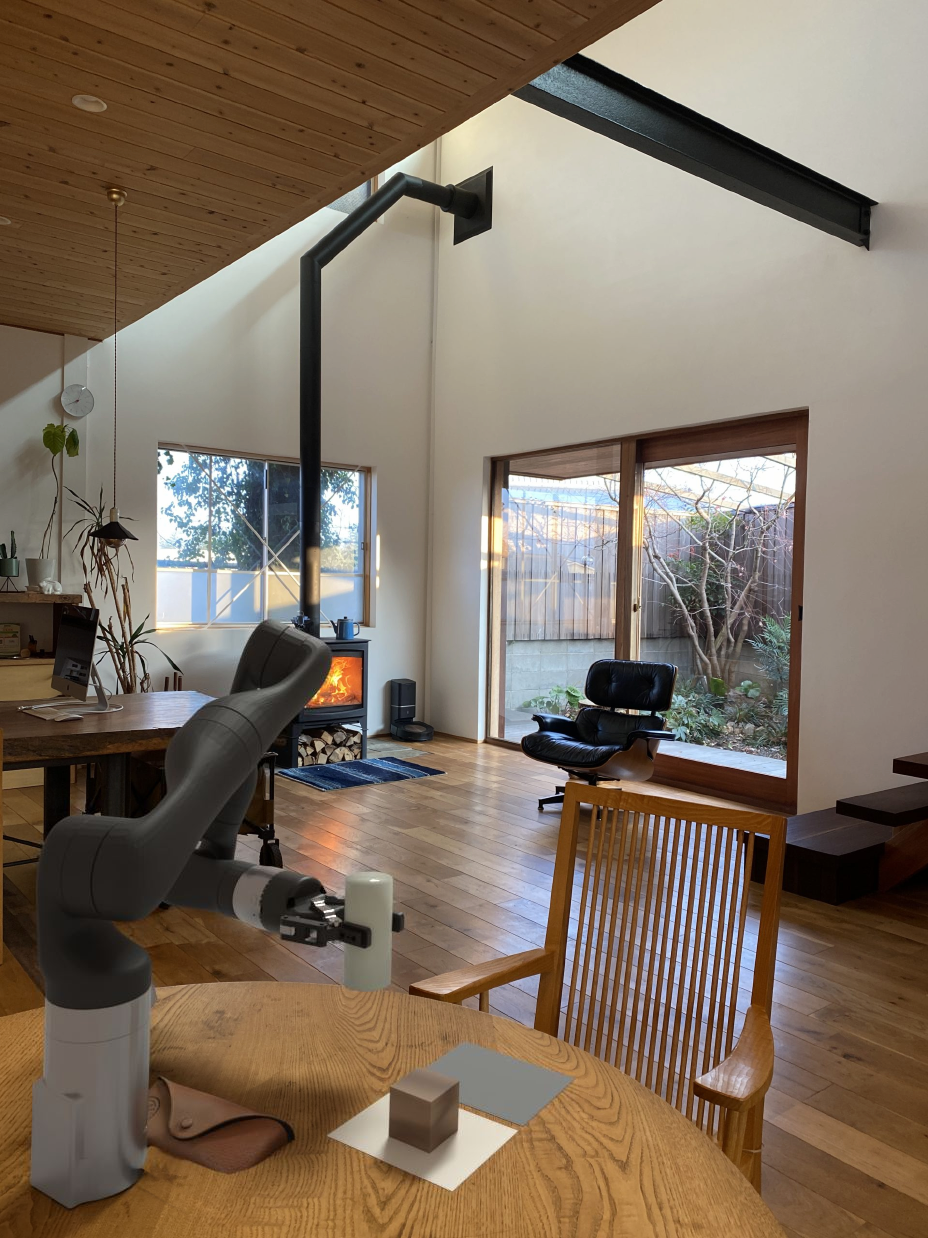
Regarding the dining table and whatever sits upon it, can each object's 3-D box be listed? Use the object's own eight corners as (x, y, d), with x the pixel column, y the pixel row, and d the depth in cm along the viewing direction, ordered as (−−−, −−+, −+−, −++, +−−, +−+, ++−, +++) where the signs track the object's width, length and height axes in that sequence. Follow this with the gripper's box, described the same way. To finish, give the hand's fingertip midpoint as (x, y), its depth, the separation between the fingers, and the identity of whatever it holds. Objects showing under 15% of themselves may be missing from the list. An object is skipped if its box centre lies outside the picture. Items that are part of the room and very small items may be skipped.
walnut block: (429, 1154, 89) (431, 1102, 89) (388, 1136, 92) (389, 1086, 92) (458, 1130, 93) (459, 1081, 93) (417, 1114, 96) (419, 1066, 96)
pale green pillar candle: (370, 996, 103) (372, 889, 103) (333, 983, 106) (335, 880, 106) (400, 979, 108) (402, 877, 108) (363, 968, 111) (365, 869, 111)
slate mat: (522, 1136, 95) (523, 1126, 95) (405, 1090, 103) (405, 1082, 103) (574, 1087, 105) (575, 1078, 105) (464, 1049, 113) (464, 1041, 113)
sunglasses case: (96, 1140, 91) (124, 1067, 94) (141, 1145, 97) (166, 1076, 100) (240, 1196, 84) (266, 1115, 87) (280, 1198, 89) (303, 1122, 92)
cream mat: (451, 1202, 84) (452, 1191, 84) (326, 1145, 92) (326, 1135, 92) (517, 1141, 94) (518, 1131, 94) (399, 1094, 102) (399, 1085, 102)
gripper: (317, 914, 121) (422, 944, 112) (234, 948, 109) (344, 985, 100) (319, 857, 121) (424, 883, 111) (235, 885, 109) (345, 916, 99)
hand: (385, 931), depth 106 cm, fingers closed on pale green pillar candle, 5 cm apart
